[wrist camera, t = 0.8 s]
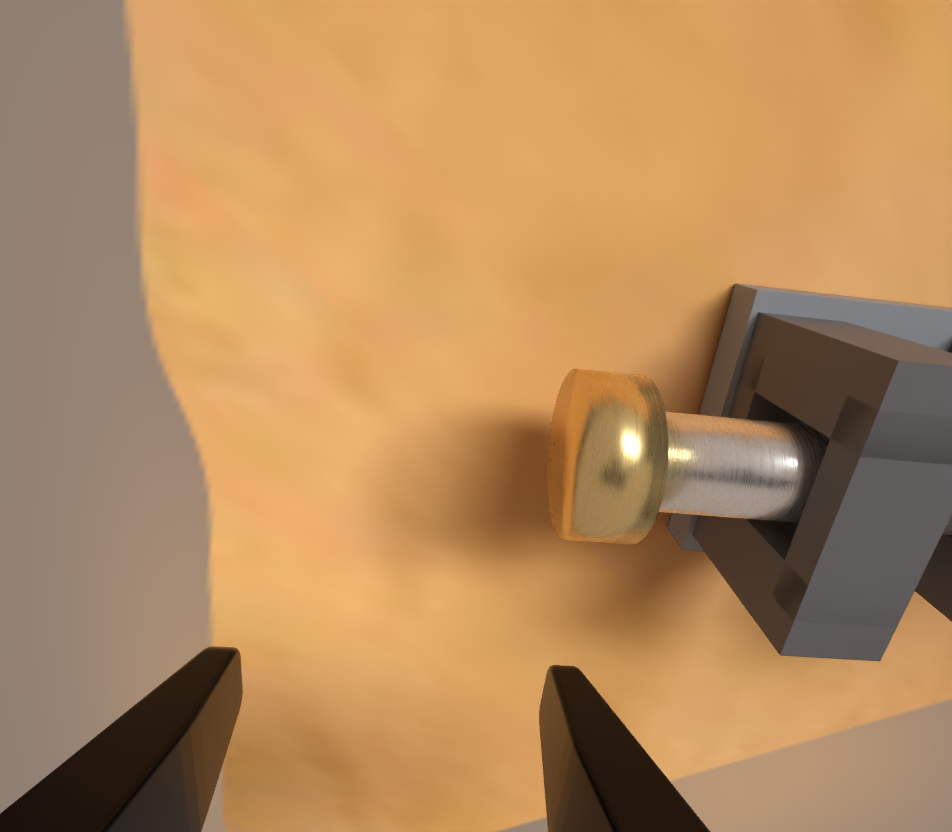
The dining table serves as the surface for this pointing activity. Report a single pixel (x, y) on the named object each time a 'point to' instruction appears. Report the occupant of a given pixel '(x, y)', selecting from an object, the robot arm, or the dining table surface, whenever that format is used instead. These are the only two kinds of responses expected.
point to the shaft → (667, 462)
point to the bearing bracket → (838, 466)
